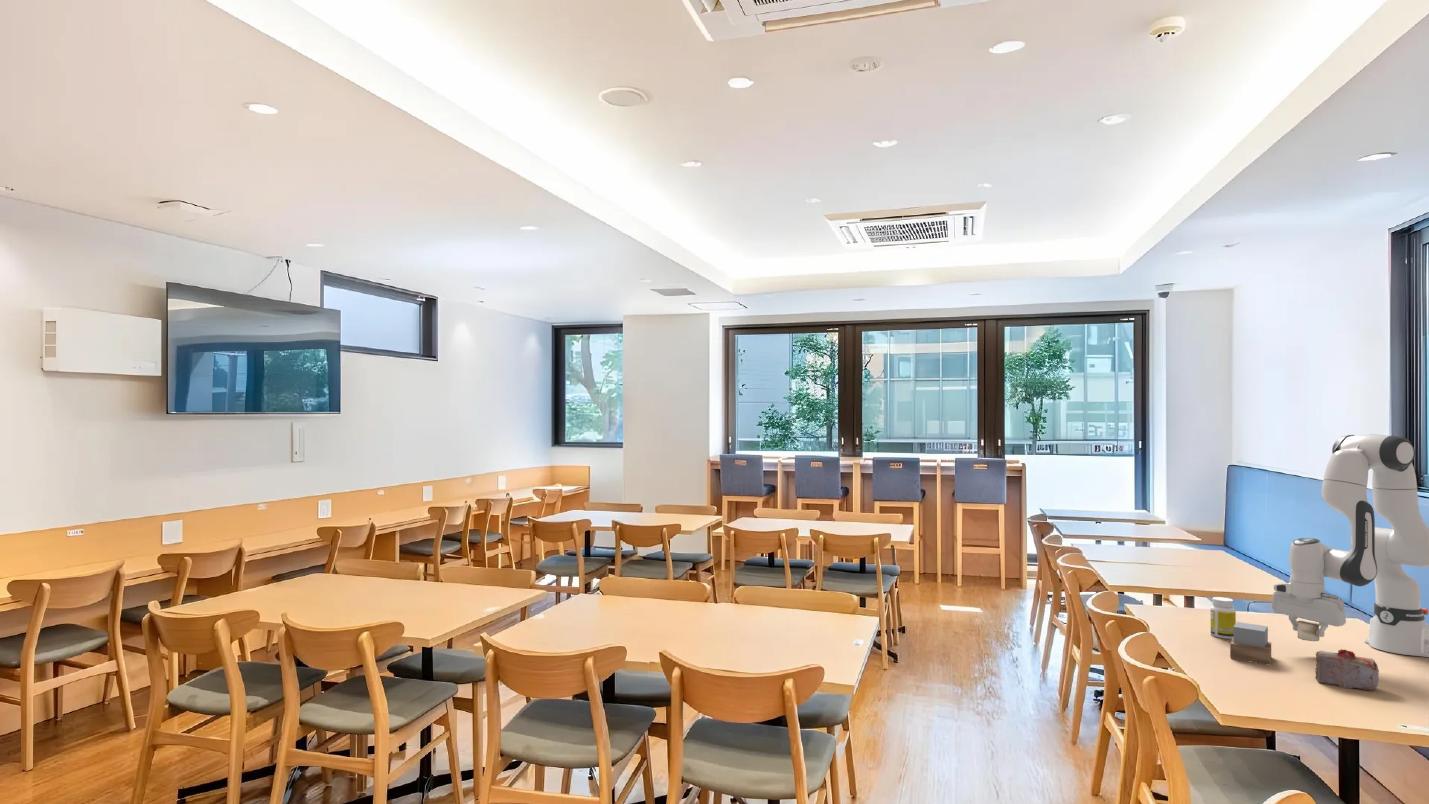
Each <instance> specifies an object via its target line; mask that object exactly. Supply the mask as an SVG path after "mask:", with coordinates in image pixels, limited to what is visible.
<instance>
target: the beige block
mask: <svg viewBox="0 0 1429 804" xmlns="http://www.w3.org/2000/svg"><path fill="white" fill-rule="evenodd" d="M1296 621H1297V630H1298V631H1297V638H1298V639H1300V640H1302V641H1309V642H1319V641H1320V637H1319V636H1316V630H1319V629H1320V626H1319V622H1315V621H1310V620H1296Z"/></svg>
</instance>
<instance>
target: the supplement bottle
mask: <svg viewBox="0 0 1429 804" xmlns="http://www.w3.org/2000/svg"><path fill="white" fill-rule="evenodd" d="M1211 600H1212V601H1211V603H1212V605H1211V606H1210V608H1209V609H1210V612H1209V613H1210V614H1209V615H1210V635H1211V636H1213V637H1215V638H1219V639H1224V640H1225V639H1227V640H1232V638H1233V637H1234V629H1233V627H1234V625H1235V624H1236V623H1237V621H1236V620H1237V619H1236V617H1237V616H1236V614H1237V613H1236V612H1237V611H1236V609H1235V608H1234V600H1233V599H1232V598H1230V597H1223V596H1222V597H1220V596H1213V597H1212V598H1211Z"/></svg>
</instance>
